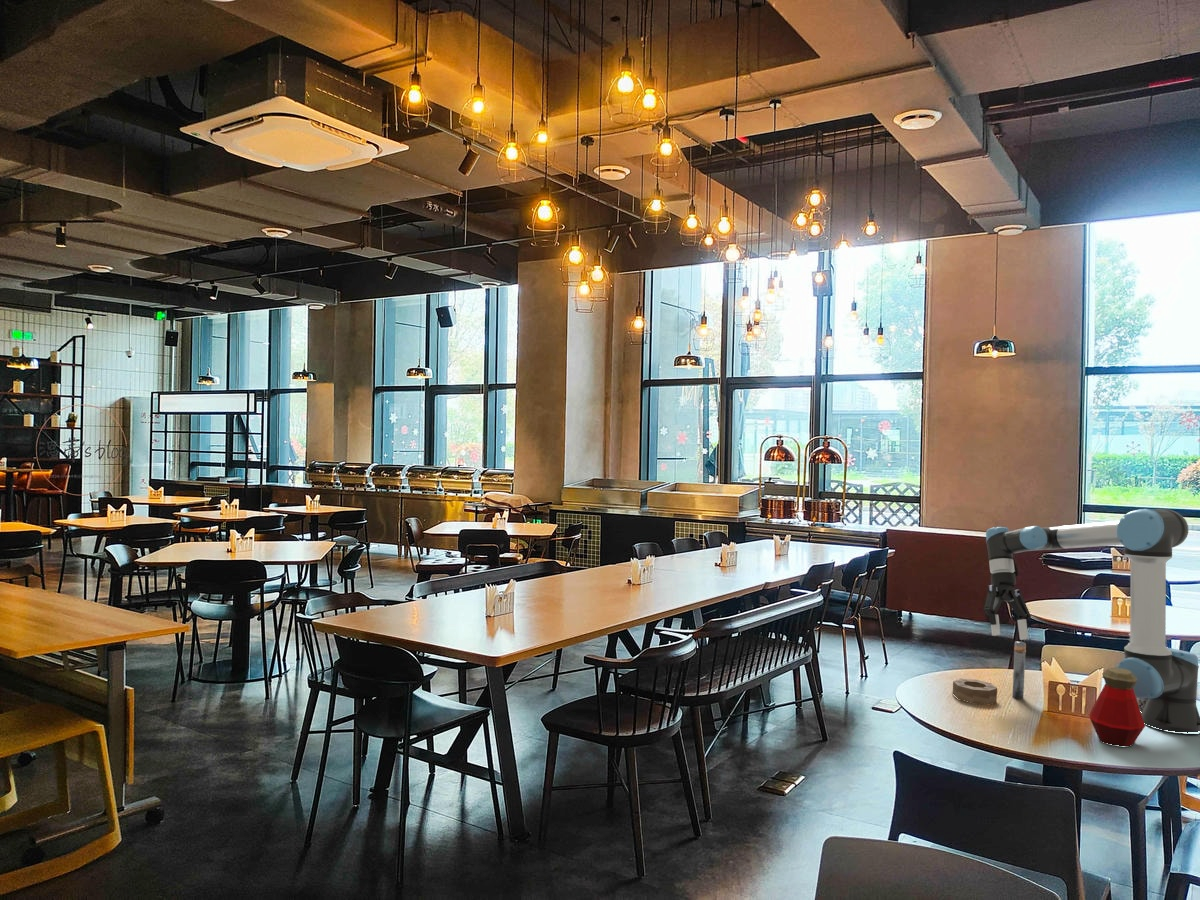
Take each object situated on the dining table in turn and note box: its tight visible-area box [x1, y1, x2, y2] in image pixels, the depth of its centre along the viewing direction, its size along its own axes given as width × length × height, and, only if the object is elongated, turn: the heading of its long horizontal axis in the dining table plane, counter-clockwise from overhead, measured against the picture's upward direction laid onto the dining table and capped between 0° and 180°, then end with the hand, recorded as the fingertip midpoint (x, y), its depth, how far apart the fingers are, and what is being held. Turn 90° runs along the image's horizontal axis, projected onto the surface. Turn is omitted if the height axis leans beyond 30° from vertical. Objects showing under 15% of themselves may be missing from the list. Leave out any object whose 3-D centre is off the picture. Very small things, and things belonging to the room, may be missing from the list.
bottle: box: [1088, 667, 1146, 747], centre depth 234 cm, size 16×14×20 cm
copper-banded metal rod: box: [1011, 640, 1027, 700], centre depth 272 cm, size 3×3×18 cm
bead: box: [952, 678, 998, 705], centre depth 270 cm, size 12×12×4 cm
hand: (1010, 637), depth 275 cm, fingers open, 13 cm apart
